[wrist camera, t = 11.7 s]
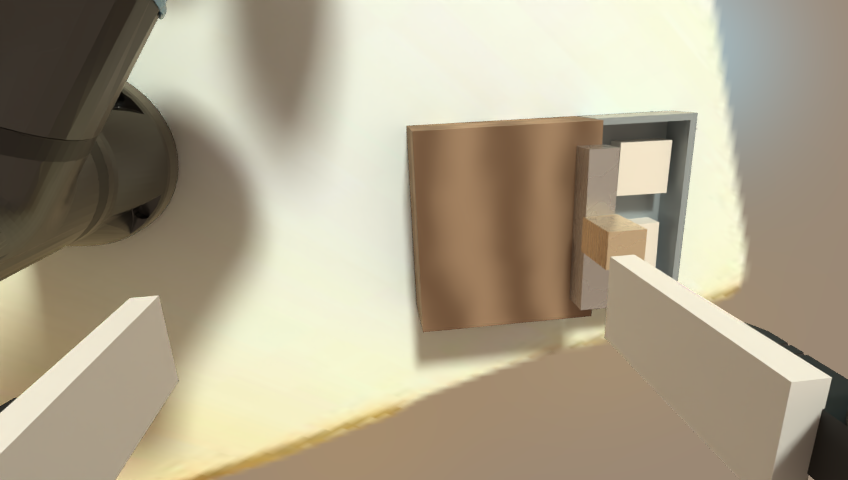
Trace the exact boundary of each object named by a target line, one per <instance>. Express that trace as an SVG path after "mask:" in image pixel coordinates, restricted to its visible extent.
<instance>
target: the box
mask: <svg viewBox="0 0 848 480" xmlns="http://www.w3.org/2000/svg"><path fill="white" fill-rule="evenodd" d="M697 115H698V113H695V112H681V111H658V112H641V113H623V114H606V115H588V116H577V117H583V118H591V119H598V120H604V122H603V138H602V144H607V145H610V144H611V140H630V139H649V138H663V139H669V140H672V148H671V157H670V165H669V174H668V183H667V192H666V193H656V194H640V195H624V196H616V206H615V214H618V215H620V216H622V217H624V218H626V219H634V218H644V217H649V218H651V219H653V220H655V221H658V222H659V231H658V243H657V255H656V267H655V268H657V269H658V270H660V271H661V272H663V273H665V274H666V275H668V276H670V277H671V278H673V279H674V280H676V281H678V274H679V266H680V257H681V249H682V241H683V232H684V224H685V215H686V207H687V199H688V190H689V182H690V174H691V165H692V157H693V149H694V140H695V132H696V123H697Z"/></svg>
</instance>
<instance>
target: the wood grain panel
mask: <svg viewBox="0 0 848 480" xmlns="http://www.w3.org/2000/svg"><path fill="white" fill-rule="evenodd" d="M603 122H604V120H598V119H591V118H583V117H576V116H571V117H553V118H535V119H518V120H500V121H483V122H465V123H448V124H430V125H413V126H407V143H408V160H409V178H410V196H411V213H412V231H413V248H414V266H415V284H416V301H417V308H418V312H419V317H420V321H421V325H422V330H423V332H430V331H440V330H451V329H461V328H471V327H482V326H492V325H502V324H513V323H523V322H534V321H544V320H554V319H565V318H575V317H585V316H591V313H592V309H588V310H580V309H579V308H578V307H577V306H576V305H575V304H574V303H573V302H572V301H571V300H570V299H569V298H570V277H571V256H572V235H573V214H574V193H575V172H576V151H577V146H584V145H600V144H602V138H603Z"/></svg>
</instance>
